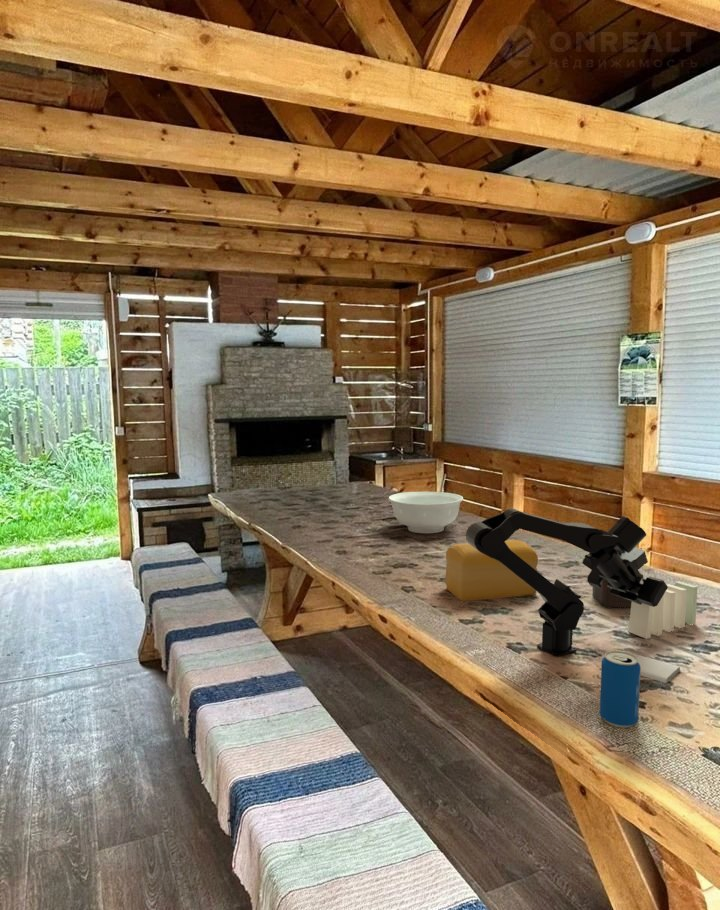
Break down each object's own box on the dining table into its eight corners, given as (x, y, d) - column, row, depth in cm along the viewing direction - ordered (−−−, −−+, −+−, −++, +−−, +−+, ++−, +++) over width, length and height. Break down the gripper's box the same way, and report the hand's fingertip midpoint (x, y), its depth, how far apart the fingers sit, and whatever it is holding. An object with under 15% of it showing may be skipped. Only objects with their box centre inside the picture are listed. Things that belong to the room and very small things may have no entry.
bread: (461, 601, 177) (461, 550, 175) (444, 588, 189) (445, 540, 188) (538, 594, 183) (539, 545, 181) (517, 582, 195) (518, 535, 194)
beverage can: (630, 734, 108) (633, 668, 107) (594, 721, 112) (596, 657, 111) (642, 719, 113) (645, 656, 112) (607, 707, 117) (609, 646, 116)
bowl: (372, 529, 269) (372, 496, 268) (422, 519, 291) (422, 488, 290) (429, 542, 246) (429, 506, 244) (478, 530, 268) (478, 496, 266)
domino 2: (657, 635, 152) (659, 596, 150) (639, 629, 156) (641, 590, 155) (662, 634, 152) (663, 595, 151) (644, 627, 157) (645, 589, 156)
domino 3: (669, 632, 154) (671, 593, 153) (651, 625, 158) (653, 587, 157) (673, 631, 154) (675, 592, 153) (655, 624, 159) (657, 586, 158)
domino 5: (691, 625, 158) (693, 587, 157) (673, 619, 162) (675, 582, 161) (695, 624, 159) (697, 586, 158) (677, 618, 163) (679, 581, 162)
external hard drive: (666, 686, 127) (606, 667, 136) (679, 673, 133) (621, 655, 141) (666, 678, 127) (606, 660, 136) (680, 666, 133) (622, 649, 141)
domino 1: (646, 638, 149) (650, 598, 149) (628, 631, 154) (632, 592, 153) (650, 638, 150) (654, 597, 150) (632, 631, 154) (636, 591, 154)
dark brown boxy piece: (645, 608, 171) (648, 544, 169) (606, 608, 170) (609, 545, 169) (620, 590, 186) (622, 531, 184) (583, 590, 186) (585, 532, 184)
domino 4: (680, 628, 156) (682, 590, 155) (662, 622, 160) (664, 584, 159) (684, 627, 157) (686, 589, 156) (666, 621, 161) (668, 584, 160)
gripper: (664, 546, 138) (692, 586, 145) (596, 530, 155) (624, 567, 161) (639, 586, 135) (669, 625, 142) (573, 566, 152) (602, 601, 158)
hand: (640, 602), depth 151 cm, fingers closed
